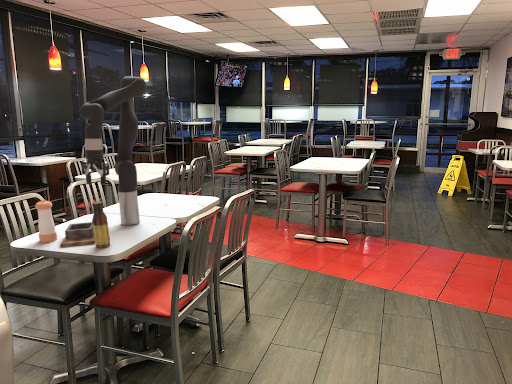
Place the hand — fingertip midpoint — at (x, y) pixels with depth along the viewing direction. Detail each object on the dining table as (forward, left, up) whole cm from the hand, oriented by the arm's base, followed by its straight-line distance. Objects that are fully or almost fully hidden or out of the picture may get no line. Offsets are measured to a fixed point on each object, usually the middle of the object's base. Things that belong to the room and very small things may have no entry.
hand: (96, 184), depth 187 cm
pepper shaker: (+24, -3, -25) cm, 35 cm away
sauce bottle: (-2, +16, -25) cm, 30 cm away
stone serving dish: (+9, +1, -25) cm, 27 cm away
